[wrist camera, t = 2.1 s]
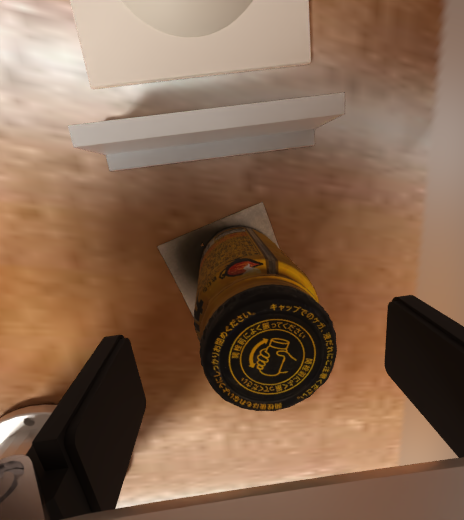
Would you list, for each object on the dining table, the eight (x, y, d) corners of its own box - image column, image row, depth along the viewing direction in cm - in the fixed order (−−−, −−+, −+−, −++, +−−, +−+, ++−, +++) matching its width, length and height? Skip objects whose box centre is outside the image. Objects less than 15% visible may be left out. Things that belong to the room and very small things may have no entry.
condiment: (293, 285, 22) (379, 396, 11) (197, 324, 23) (183, 471, 11) (262, 201, 20) (328, 227, 9) (157, 245, 21) (89, 326, 9)
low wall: (311, 145, 19) (345, 134, 15) (112, 171, 19) (79, 168, 14) (309, 98, 18) (344, 69, 14) (101, 123, 18) (61, 102, 13)
